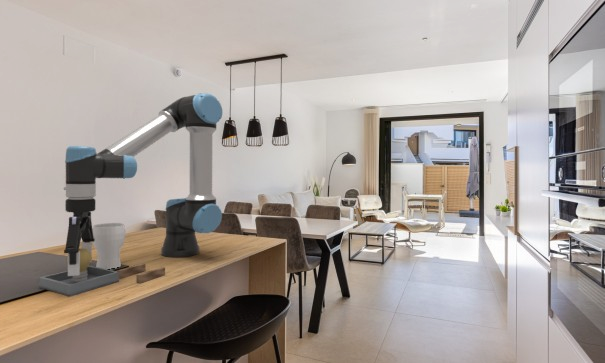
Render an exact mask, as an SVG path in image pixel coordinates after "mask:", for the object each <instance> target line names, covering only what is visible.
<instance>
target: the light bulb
mask: <svg viewBox="0 0 605 363" xmlns="http://www.w3.org/2000/svg"><path fill="white" fill-rule="evenodd" d="M78 252H80V275H77V276H73V282H75V283H78V282H81V281H85V280H87V279H88V277H87V276H88V275H87V270H86V269H87V267H88V266H91V265H90V264H91V263H92V262H91V260H92V259H93V257H92V255H91V253H90V252H89V251H88V250H86V249H81V248H79V251H78ZM65 261H66V265H67V266H68V255H67V256H66V260H65Z"/></svg>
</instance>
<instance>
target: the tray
mask: <svg viewBox="0 0 605 363" xmlns="http://www.w3.org/2000/svg"><path fill="white" fill-rule="evenodd" d="M86 270H87V275H88V276H87V277H88V279H87V280H85V281H81V282H78V283H75V282H73V276H68V270H65V271H62V272H61V271H60V272H58V273H53V274H48V275H44V276H39V277H38V288H39V289H42V288H43V290H45V289H46V291H49V292H53V293H56V294H60V295H64V296H67V297H73V296H77V295H81V294H83V293H86V292H89V291H92V290H95V289H99V288H103V287H105V286H108V285H112V284H115V283H118V282H119V281H120V279H119V272H117V270H113V269H110V270H107V269H103V268H98V267H96V266H92V265H89V266H88V267H87V269H86Z"/></svg>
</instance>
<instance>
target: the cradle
mask: <svg viewBox="0 0 605 363" xmlns="http://www.w3.org/2000/svg"><path fill="white" fill-rule="evenodd" d="M116 271H117V272H119V280H120V279H122V278H127V277H129V276H133V275H136V280H135V282H136V284H142V283H145V282H148V281H151V280H154V279H157V278H160V277H163V276H165V275H166V267H163V266H161V267H158V268H155V269H152V270H148V271H147V270H146V263H144V262H143V263H139V264H136V265H132V266H128V267H125V268H121V269H118V270H116Z"/></svg>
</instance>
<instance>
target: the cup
mask: <svg viewBox="0 0 605 363" xmlns="http://www.w3.org/2000/svg"><path fill="white" fill-rule="evenodd" d="M92 230H93V236H94V237H93V238H95V241H94V242H92V245H93V246H92V247H94V249H95V250H96V255H97V260H96V265H95V267H98V268H103V269H110V270H112V269H111V268H115V269H118V268H117V267H119V268H120V267H121V266H122V265H121V264H122V263H121V258H120V257H121V256H120V253H121V248H122V247H123V245H124V243H125V241H126V236H127V235H126V228H125V225H124V223H120V222H110V223H109V222H107V223H99V224H94V225H92Z"/></svg>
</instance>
